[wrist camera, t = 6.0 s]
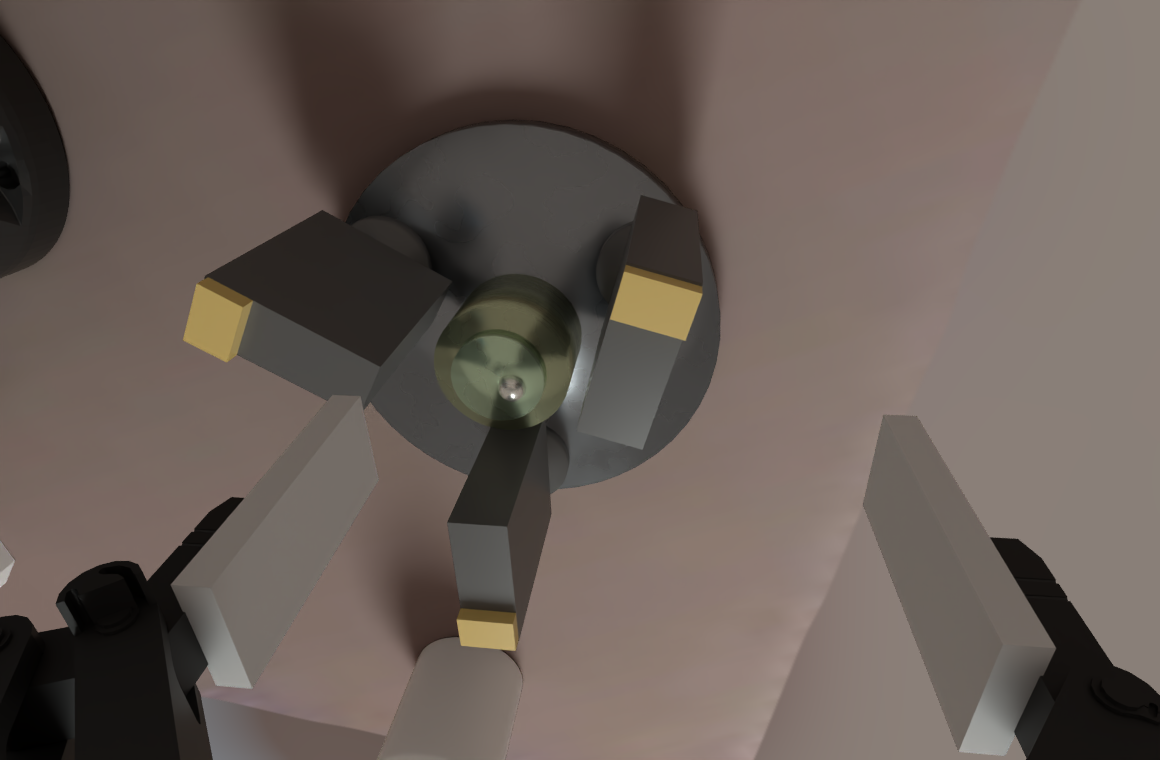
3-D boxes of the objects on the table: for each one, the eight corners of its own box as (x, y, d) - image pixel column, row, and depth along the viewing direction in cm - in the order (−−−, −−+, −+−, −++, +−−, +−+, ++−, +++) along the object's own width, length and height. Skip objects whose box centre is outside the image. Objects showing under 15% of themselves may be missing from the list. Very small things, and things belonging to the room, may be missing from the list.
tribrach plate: (269, 249, 34) (180, 301, 28) (589, 27, 27) (564, 32, 21) (484, 516, 40) (449, 604, 34) (783, 390, 34) (805, 473, 28)
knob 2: (482, 402, 34) (417, 531, 26) (567, 405, 34) (529, 539, 25) (493, 500, 37) (438, 645, 29) (571, 505, 37) (539, 654, 28)
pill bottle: (495, 628, 45) (445, 793, 36) (540, 701, 48) (505, 871, 39) (398, 645, 47) (327, 806, 38) (447, 714, 51) (393, 879, 41)
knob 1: (465, 257, 31) (383, 352, 22) (430, 331, 33) (342, 445, 24) (337, 185, 30) (199, 256, 21) (309, 267, 32) (174, 360, 23)
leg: (672, 343, 31) (669, 467, 23) (582, 317, 31) (545, 432, 23) (719, 212, 28) (736, 300, 20) (619, 183, 28) (592, 259, 20)
